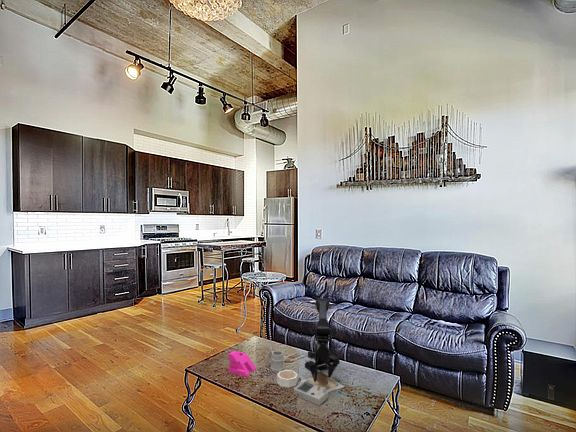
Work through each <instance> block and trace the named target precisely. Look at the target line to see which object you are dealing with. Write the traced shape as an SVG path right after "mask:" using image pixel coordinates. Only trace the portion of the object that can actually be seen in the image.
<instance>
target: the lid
mask: <svg viewBox="0 0 576 432" xmlns="http://www.w3.org/2000/svg"><path fill="white" fill-rule="evenodd" d="M327 375H328V374H326V373H325V372H323V371H321V370H319V371H318V373H317V380H316V382H314V380H313V378H311V377H309V378H310V379H308V378H306V379H307V380H306V381H307V382H309V383H312V384H314V385H317V386H319V387H321V388H323V389H325V390H327V389H330V388H334V387H337V386H339V384H337V383H336V382H335V381H336V380H335V381H333V380H332V379H333V378H332V379H330V378H329V377H328V376H327Z"/></svg>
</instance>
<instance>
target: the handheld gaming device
mask: <svg viewBox="0 0 576 432" xmlns="http://www.w3.org/2000/svg"><path fill="white" fill-rule="evenodd" d="M293 394H294V396H296V397H298V398H301V399H303V400H306V401H307V402H309V403H312V404H315V405H316V406H319V407H320V406H321V405H323V403H325V401H326V400H327V399H328V397H329V392H327V391H326V390H325V389H323V388H321V387H319V386H317V385H314V384H312V383H309V382H307V381H303V382H302V381H301V382H300V383H299V384H298V385H296V386H294V388H293Z"/></svg>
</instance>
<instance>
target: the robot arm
mask: <svg viewBox="0 0 576 432" xmlns="http://www.w3.org/2000/svg"><path fill="white" fill-rule="evenodd" d="M330 305H331V301H330V300H329V299H328V298H323V297H321V298H319V297H318V298H317V299H315V305H314V306H315V307H316V311H317V312H318V321H317V322H316V326H315V342H316V343H315V347H314V351H312V350H310V351H308V352H307V358H309V359H310V360H309V361H306V362H305V363H304V369H306V370H308V372H310V373H311V376H312V377H313V380H314V382H316V380H317V373H318V372H319V371H321V372H323V371H325V370H327V375H328V377H329V378H330V377H331V376H332V375H333V373H334V371H335V370H336V368H337V367H338V365H340V358H339V357H337V356H335V355H331V350H330V347H329V342H331V340H332V339H333V337H332V336H333V335H332V334H333V332H332V329H331V327H330V323H329V321H328V320H327V319H328V318H327V314H328V313H327V312H328V311H329V308H330V307H331V306H330ZM313 359H314V361H313ZM331 378H332V377H331Z"/></svg>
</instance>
